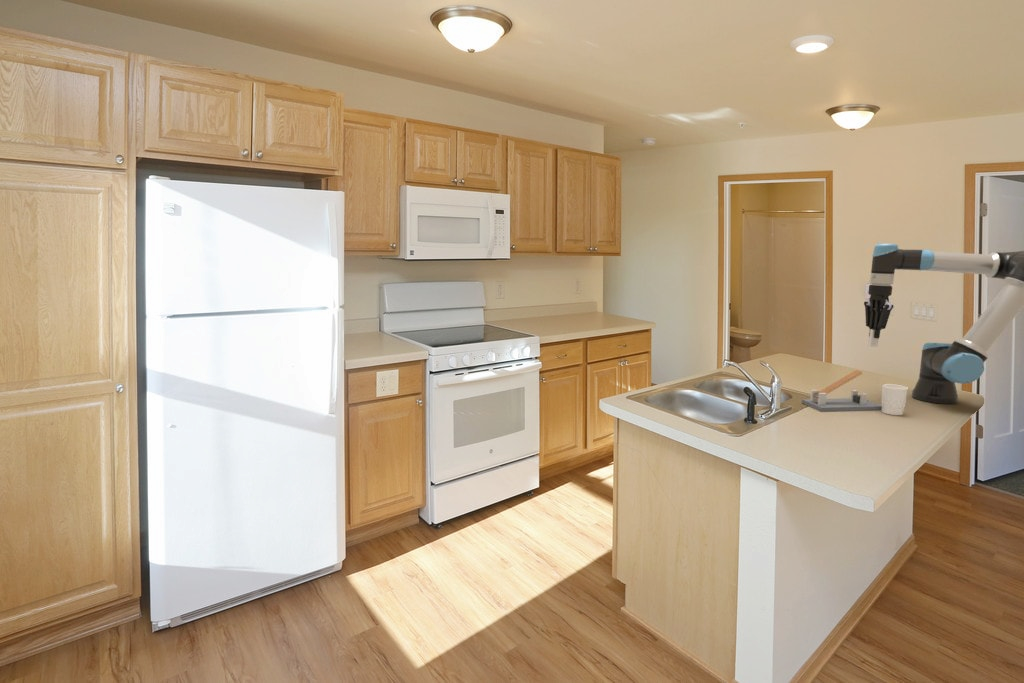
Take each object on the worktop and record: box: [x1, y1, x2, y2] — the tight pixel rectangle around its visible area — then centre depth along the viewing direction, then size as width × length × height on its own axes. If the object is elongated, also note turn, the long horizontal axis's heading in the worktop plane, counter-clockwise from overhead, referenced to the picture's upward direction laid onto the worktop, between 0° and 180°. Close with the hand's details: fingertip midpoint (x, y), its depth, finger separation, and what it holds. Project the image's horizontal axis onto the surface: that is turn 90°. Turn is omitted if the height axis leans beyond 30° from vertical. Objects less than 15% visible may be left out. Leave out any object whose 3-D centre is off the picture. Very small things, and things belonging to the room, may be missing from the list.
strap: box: [814, 369, 863, 398], centre depth 219 cm, size 19×3×1 cm
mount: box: [801, 389, 882, 413], centre depth 220 cm, size 25×12×6 cm, turn 96°
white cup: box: [880, 383, 909, 416], centre depth 212 cm, size 8×8×10 cm
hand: (872, 346), depth 223 cm, fingers closed
